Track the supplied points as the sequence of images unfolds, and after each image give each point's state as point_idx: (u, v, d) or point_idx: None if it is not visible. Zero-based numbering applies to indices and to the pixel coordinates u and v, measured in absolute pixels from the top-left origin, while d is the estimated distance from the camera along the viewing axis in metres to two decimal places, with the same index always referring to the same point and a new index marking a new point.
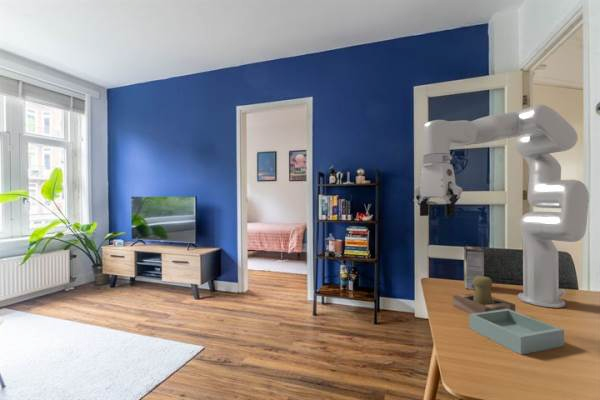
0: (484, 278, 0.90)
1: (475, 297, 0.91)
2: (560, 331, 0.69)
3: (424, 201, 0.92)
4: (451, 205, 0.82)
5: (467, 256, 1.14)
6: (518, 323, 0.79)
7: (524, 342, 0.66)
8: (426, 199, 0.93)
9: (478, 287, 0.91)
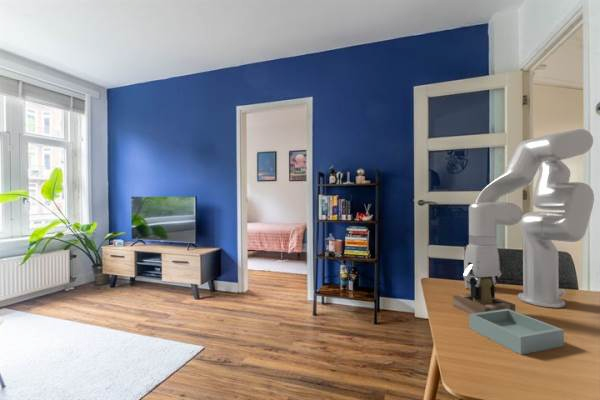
0: (484, 278, 0.90)
1: None
2: (560, 331, 0.69)
3: None
4: None
5: None
6: (518, 323, 0.79)
7: (524, 342, 0.66)
8: None
9: None
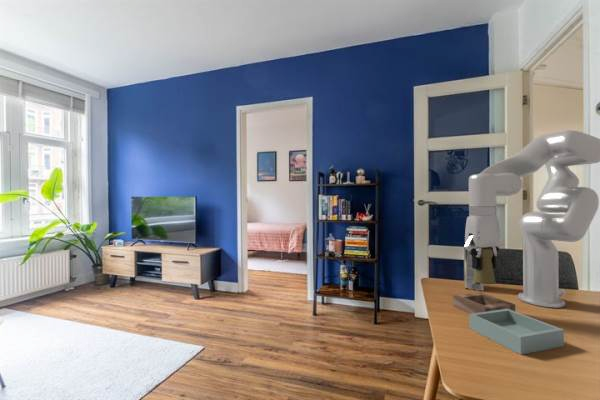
0: (485, 249, 0.90)
1: None
2: (560, 331, 0.69)
3: None
4: None
5: (467, 256, 1.14)
6: (518, 323, 0.79)
7: (524, 342, 0.66)
8: None
9: None
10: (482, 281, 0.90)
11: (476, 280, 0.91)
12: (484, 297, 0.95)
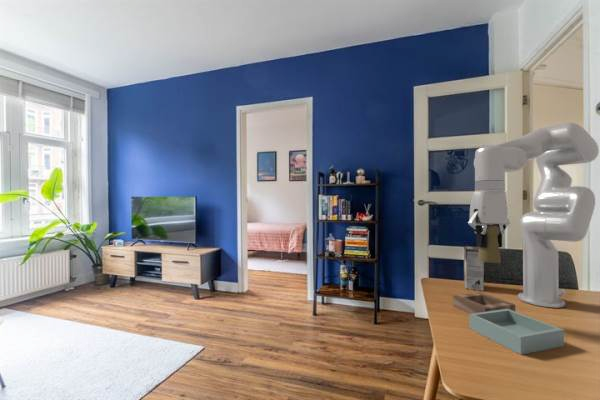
0: (491, 225, 0.85)
1: None
2: (560, 331, 0.69)
3: None
4: None
5: (467, 256, 1.14)
6: (518, 323, 0.79)
7: (524, 342, 0.66)
8: None
9: None
10: (487, 259, 0.84)
11: (480, 259, 0.86)
12: (484, 297, 0.95)
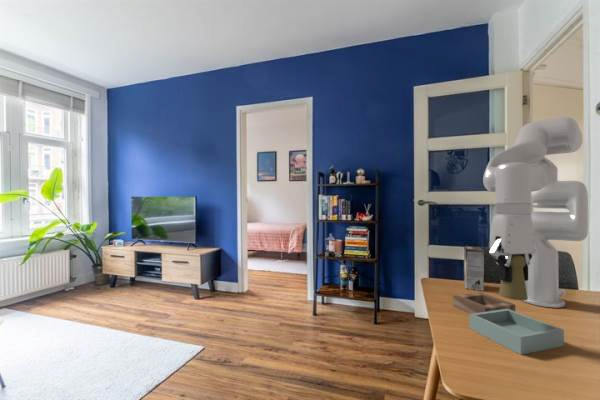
0: (515, 256, 0.72)
1: None
2: (560, 331, 0.69)
3: None
4: None
5: (467, 256, 1.14)
6: (518, 323, 0.79)
7: (524, 342, 0.66)
8: None
9: None
10: (511, 296, 0.72)
11: (503, 294, 0.73)
12: (484, 297, 0.95)
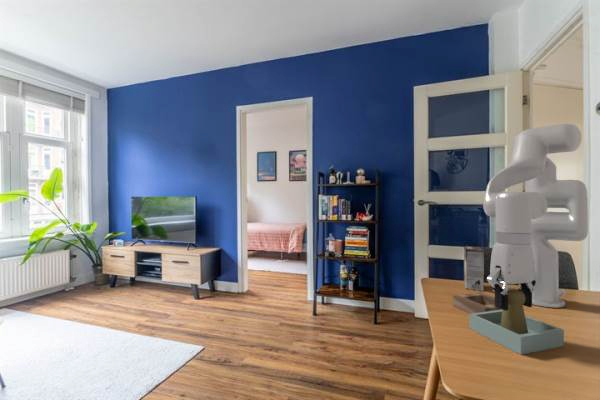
0: (515, 292, 0.73)
1: (504, 315, 0.74)
2: (560, 331, 0.69)
3: None
4: None
5: (467, 256, 1.14)
6: None
7: (524, 342, 0.66)
8: None
9: (508, 303, 0.73)
10: None
11: None
12: (484, 297, 0.95)
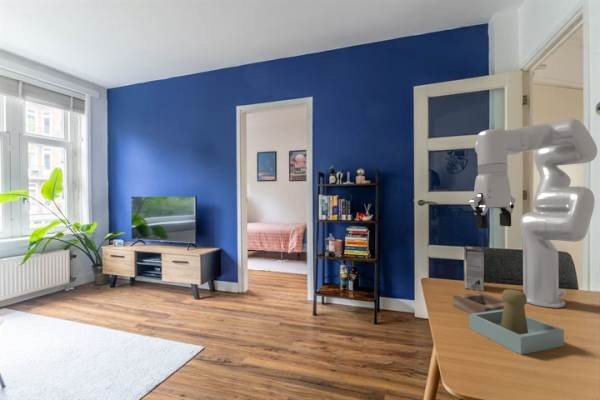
0: (517, 293, 0.72)
1: (505, 316, 0.74)
2: (560, 331, 0.69)
3: None
4: None
5: (467, 256, 1.14)
6: None
7: (524, 342, 0.66)
8: None
9: (509, 304, 0.73)
10: None
11: None
12: (484, 297, 0.95)
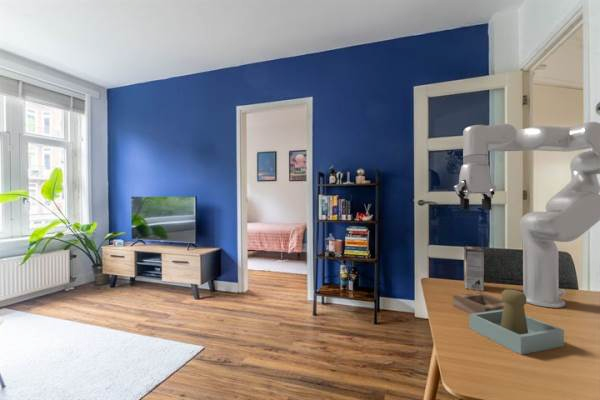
0: (516, 293, 0.72)
1: (504, 316, 0.74)
2: (560, 331, 0.69)
3: None
4: None
5: (467, 256, 1.14)
6: None
7: (524, 342, 0.66)
8: None
9: (508, 304, 0.73)
10: None
11: None
12: (484, 297, 0.95)
